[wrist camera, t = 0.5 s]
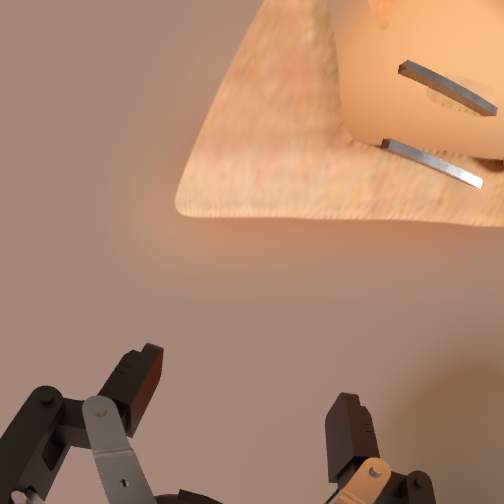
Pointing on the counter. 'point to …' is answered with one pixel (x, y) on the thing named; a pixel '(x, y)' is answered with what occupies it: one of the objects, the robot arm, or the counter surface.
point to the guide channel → (453, 92)
